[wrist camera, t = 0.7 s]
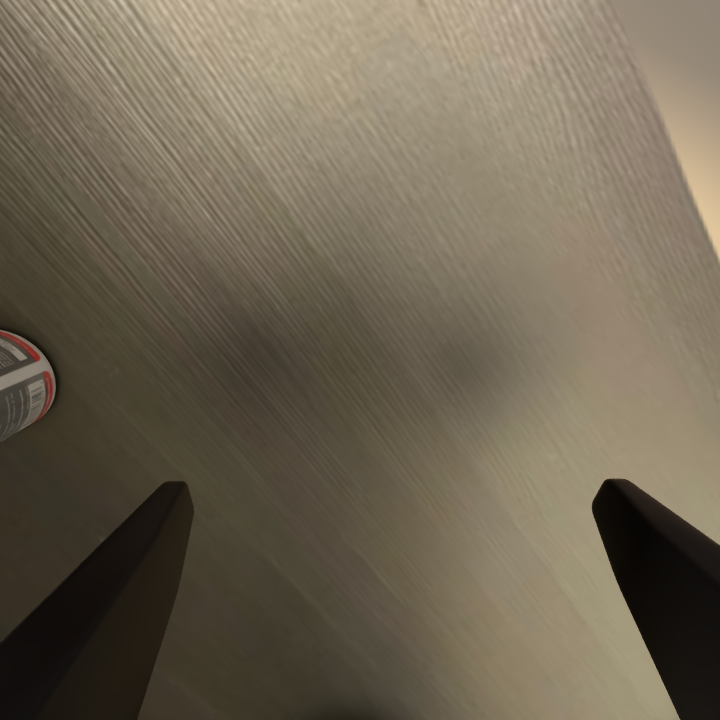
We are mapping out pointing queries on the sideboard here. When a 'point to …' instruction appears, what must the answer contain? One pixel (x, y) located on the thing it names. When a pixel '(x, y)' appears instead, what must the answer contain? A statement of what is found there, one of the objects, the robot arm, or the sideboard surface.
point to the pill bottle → (22, 384)
